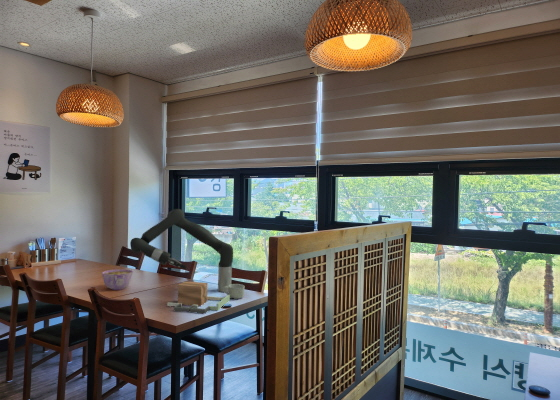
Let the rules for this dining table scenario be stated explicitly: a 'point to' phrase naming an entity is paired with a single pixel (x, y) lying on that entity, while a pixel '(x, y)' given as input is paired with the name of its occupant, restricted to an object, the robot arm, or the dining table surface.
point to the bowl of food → (117, 278)
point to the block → (192, 293)
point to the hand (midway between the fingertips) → (186, 267)
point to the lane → (195, 308)
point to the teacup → (235, 290)
